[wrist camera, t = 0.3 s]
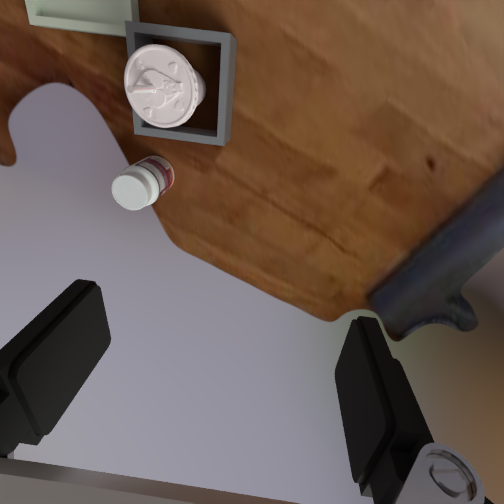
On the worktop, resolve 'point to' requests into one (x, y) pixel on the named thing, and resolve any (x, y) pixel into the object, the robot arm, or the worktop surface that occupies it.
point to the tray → (84, 15)
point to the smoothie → (162, 85)
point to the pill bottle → (143, 182)
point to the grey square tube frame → (143, 35)
